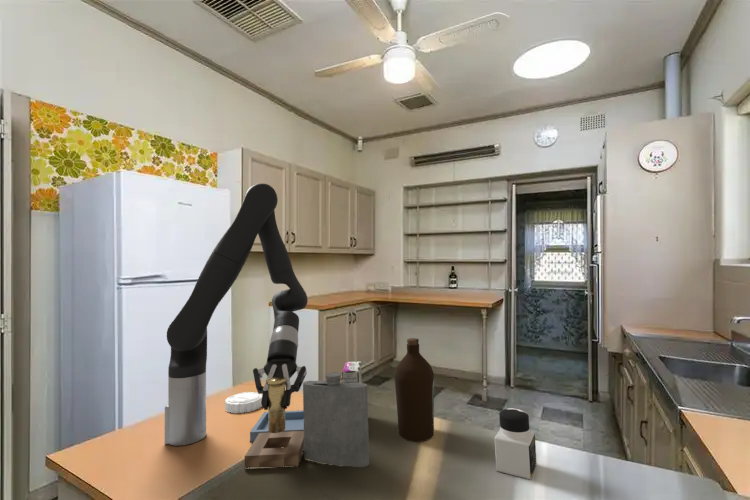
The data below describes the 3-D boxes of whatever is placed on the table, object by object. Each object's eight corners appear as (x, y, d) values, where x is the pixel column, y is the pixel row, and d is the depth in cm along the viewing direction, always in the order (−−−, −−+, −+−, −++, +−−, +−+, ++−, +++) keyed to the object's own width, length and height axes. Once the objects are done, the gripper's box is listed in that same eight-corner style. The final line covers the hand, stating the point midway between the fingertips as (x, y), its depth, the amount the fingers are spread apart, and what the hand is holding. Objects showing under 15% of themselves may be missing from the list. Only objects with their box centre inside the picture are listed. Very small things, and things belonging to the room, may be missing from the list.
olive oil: (403, 445, 91) (399, 344, 93) (391, 428, 102) (388, 337, 103) (442, 439, 94) (438, 341, 95) (428, 423, 104) (424, 334, 106)
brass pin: (264, 434, 86) (264, 382, 87) (269, 425, 91) (269, 376, 92) (284, 433, 87) (284, 381, 87) (288, 425, 91) (288, 376, 92)
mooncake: (270, 403, 126) (270, 392, 126) (246, 416, 115) (246, 404, 115) (242, 399, 130) (242, 389, 131) (216, 412, 119) (216, 400, 119)
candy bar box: (346, 415, 112) (345, 361, 113) (363, 415, 112) (361, 360, 113) (342, 431, 101) (341, 371, 102) (361, 431, 100) (359, 370, 101)
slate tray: (250, 441, 96) (250, 432, 96) (264, 420, 110) (264, 412, 110) (303, 439, 97) (303, 429, 97) (311, 418, 111) (310, 409, 111)
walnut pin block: (244, 469, 82) (244, 456, 82) (259, 444, 94) (259, 432, 94) (298, 467, 83) (298, 453, 83) (306, 442, 95) (306, 430, 95)
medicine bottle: (531, 480, 75) (528, 420, 75) (495, 471, 78) (492, 414, 79) (536, 464, 81) (533, 408, 81) (503, 456, 84) (500, 403, 85)
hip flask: (370, 460, 85) (368, 372, 86) (365, 470, 81) (363, 377, 82) (307, 453, 89) (306, 370, 90) (300, 462, 85) (298, 374, 86)
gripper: (254, 339, 97) (241, 402, 84) (308, 337, 98) (303, 398, 85) (259, 355, 102) (247, 416, 89) (310, 353, 103) (306, 413, 90)
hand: (275, 407), depth 87 cm, fingers closed on brass pin, 4 cm apart
